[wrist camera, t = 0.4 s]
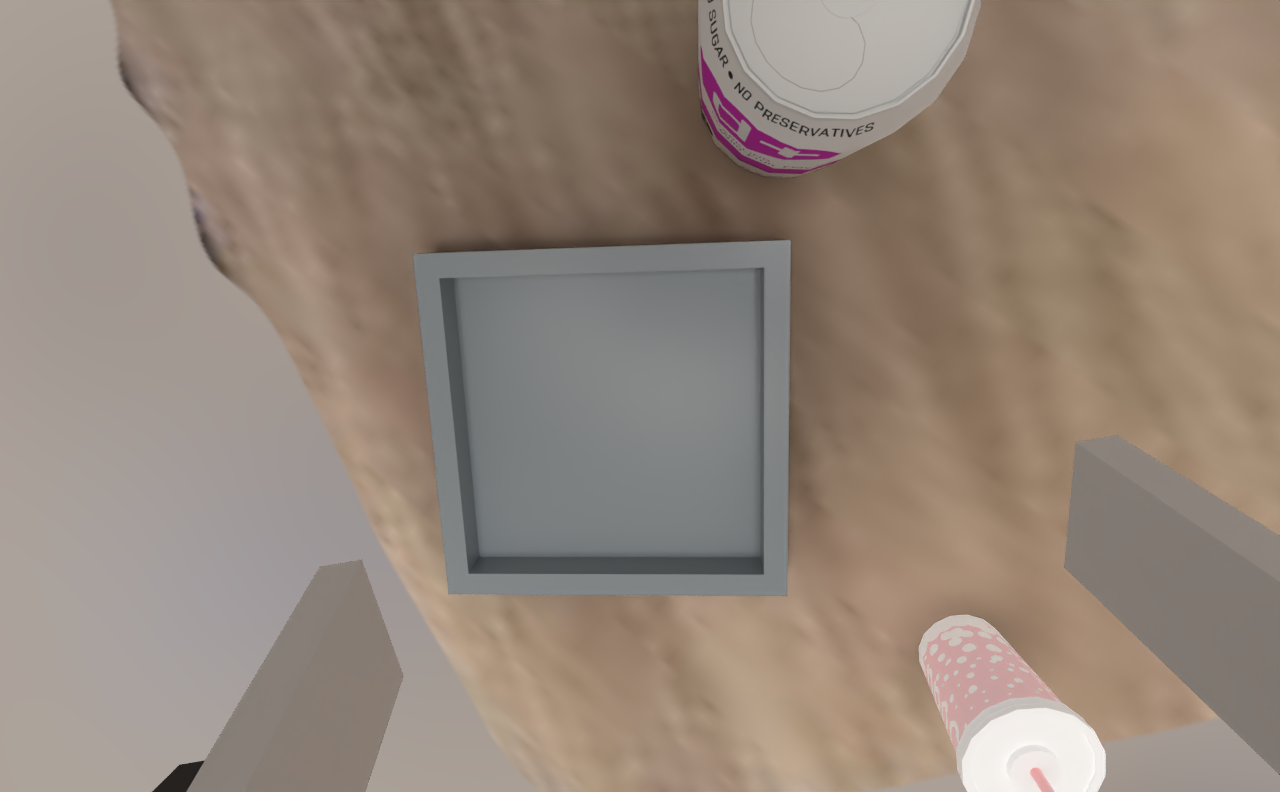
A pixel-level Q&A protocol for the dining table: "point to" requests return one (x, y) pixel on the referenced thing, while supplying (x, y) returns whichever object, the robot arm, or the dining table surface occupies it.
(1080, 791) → the beverage cup
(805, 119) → the supplement can
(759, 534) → the tray
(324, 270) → the dining table surface
